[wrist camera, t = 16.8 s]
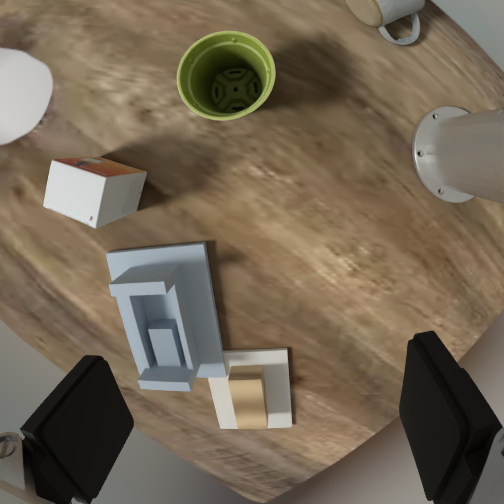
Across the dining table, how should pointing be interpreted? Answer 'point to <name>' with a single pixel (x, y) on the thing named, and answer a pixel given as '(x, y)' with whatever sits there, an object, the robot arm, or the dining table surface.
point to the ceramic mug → (388, 15)
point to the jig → (168, 314)
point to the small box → (93, 189)
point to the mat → (274, 385)
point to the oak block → (249, 396)
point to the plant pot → (225, 75)
